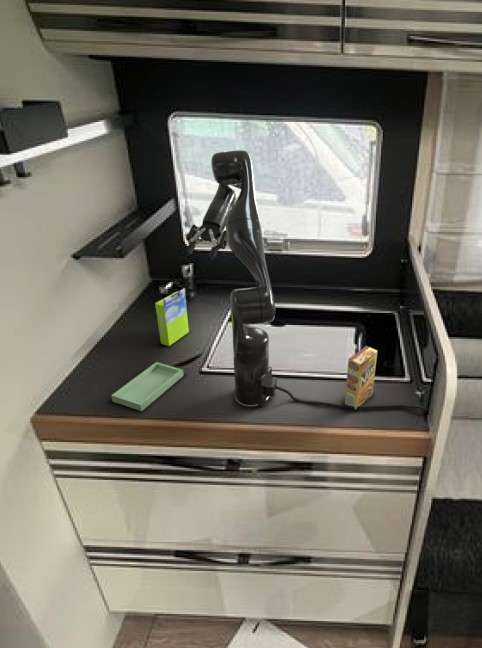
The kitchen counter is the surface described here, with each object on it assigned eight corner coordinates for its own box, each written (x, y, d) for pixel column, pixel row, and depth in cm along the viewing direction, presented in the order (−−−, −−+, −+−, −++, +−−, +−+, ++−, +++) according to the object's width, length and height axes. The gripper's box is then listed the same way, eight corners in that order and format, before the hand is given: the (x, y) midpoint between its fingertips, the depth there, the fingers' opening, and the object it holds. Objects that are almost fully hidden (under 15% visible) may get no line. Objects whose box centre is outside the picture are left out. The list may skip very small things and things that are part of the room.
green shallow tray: (183, 375, 118) (183, 369, 117) (141, 411, 104) (140, 405, 103) (157, 367, 121) (156, 361, 120) (112, 401, 106) (111, 395, 105)
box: (180, 329, 141) (175, 285, 134) (190, 332, 140) (186, 287, 133) (159, 344, 132) (152, 297, 125) (169, 347, 131) (163, 300, 124)
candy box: (356, 410, 110) (361, 364, 103) (343, 404, 112) (347, 358, 105) (372, 394, 116) (378, 350, 110) (360, 388, 118) (365, 344, 112)
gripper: (195, 205, 137) (175, 246, 132) (231, 212, 133) (212, 254, 128) (205, 217, 144) (187, 257, 138) (240, 223, 140) (223, 264, 135)
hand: (199, 255), depth 133 cm, fingers open, 8 cm apart
